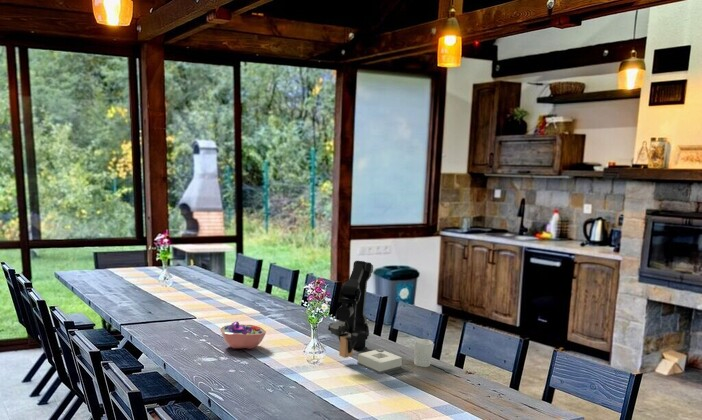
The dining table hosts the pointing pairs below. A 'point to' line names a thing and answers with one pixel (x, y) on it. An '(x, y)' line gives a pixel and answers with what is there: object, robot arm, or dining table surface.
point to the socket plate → (379, 361)
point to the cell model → (242, 335)
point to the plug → (344, 347)
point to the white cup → (422, 352)
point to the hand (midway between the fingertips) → (346, 351)
